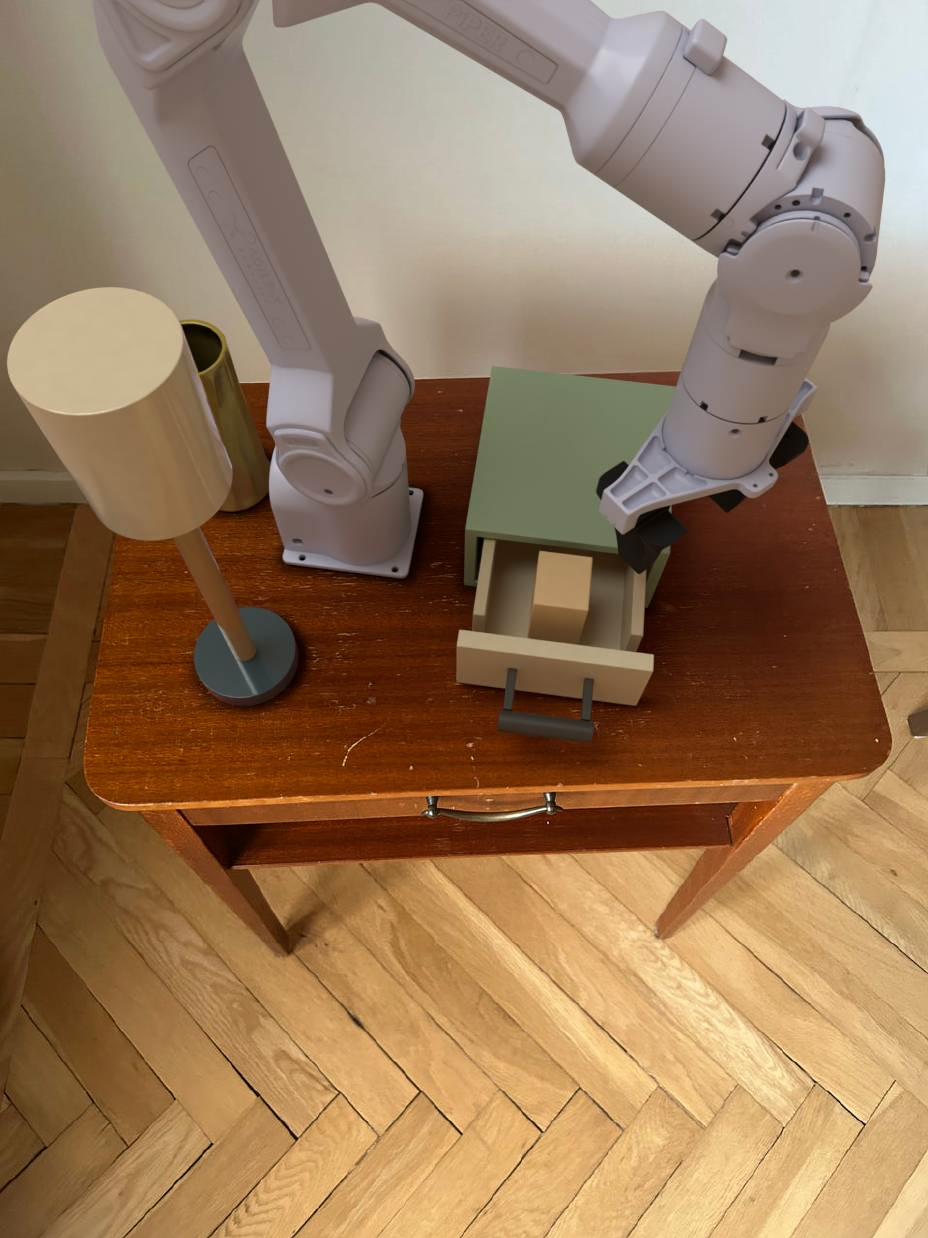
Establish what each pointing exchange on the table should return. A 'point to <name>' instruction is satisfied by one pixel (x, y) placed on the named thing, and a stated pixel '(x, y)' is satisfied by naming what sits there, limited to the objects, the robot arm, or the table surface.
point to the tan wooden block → (560, 597)
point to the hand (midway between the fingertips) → (676, 530)
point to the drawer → (550, 667)
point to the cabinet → (556, 460)
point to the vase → (229, 415)
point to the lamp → (148, 458)
